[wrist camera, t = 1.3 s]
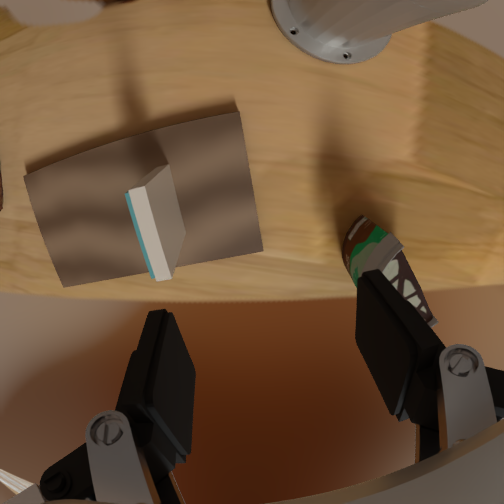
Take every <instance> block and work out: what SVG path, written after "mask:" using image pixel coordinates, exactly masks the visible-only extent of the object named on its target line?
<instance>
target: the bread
mask: <svg viewBox="0 0 504 504" xmlns="http://www.w3.org/2000/svg"><path fill="white" fill-rule="evenodd" d="M2 203H3V190H2V179H1V173H0V211H1V210H2V209H3V207H2Z"/></svg>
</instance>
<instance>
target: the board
mask: <svg viewBox="0 0 504 504" xmlns="http://www.w3.org/2000/svg"><path fill="white" fill-rule="evenodd" d="M167 164H169V166H170V170H171V175H172V179H173V183H174V187H175V191H176V195H177V200H178V204H179V208H180V212H181V216H182V219H183V223H184V227H185V231H186V234H185V237H184V241H183V244H182V247H181V250H180V253H179V257H178V260H177V263H176V267H180V266H185V265H191V264H196V263H202V262H207V261H213V260H218V259H223V258H229V257H234V256H240V255H245V254H251V253H256V252H262V251H263V246H262V240H261V234H260V228H259V222H258V216H257V210H256V204H255V198H254V192H253V186H252V180H251V175H250V169H249V163H248V157H247V152H246V146H245V140H244V134H243V129H242V123H241V118H240V112H233V113H228V114H222V115H217V116H212V117H207V118H202V119H198V120H193V121H188V122H184V123H180V124H176V125H172V126H168V127H164V128H160V129H156V130H152V131H148V132H145V133H141V134H138V135H134V136H131V137H128V138H124V139H121V140H118V141H115V142H111V143H108V144H105V145H102V146H99V147H96V148H93V149H91V150H88V151H85V152H82V153H79V154H77V155H74V156H71V157H69V158H66V159H63V160H61V161H58V162H56V163H53V164H51V165H48V166H46V167H44V168H41V169H39V170H37V171H34V172H32V173H30V174H27V175H25V176H23V177H24V181H25V185H26V188H27V192H28V195H29V198H30V202H31V205H32V208H33V211H34V214H35V217H36V220H37V223H38V226H39V228H40V231H41V234H42V237H43V239H44V242H45V245H46V247H47V250H48V252H49V255H50V257H51V260H52V262H53V264H54V267H55V269H56V272H57V274H58V276H59V278H60V281H61V283H62V285H63V287H70V286H75V285H81V284H86V283H92V282H97V281H103V280H108V279H114V278H119V277H125V276H130V275H136V274H141V273H147V272H149V270H148V267H147V264H146V261H145V259H144V256H143V253H142V250H141V246H140V243H139V240H138V237H137V234H136V231H135V228H134V224H133V221H132V218H131V214H130V211H129V207H128V204H127V201H126V197H125V193H126V192H127V191H128V190H129V189H130V188H132V187H133V186H134V185H135V184H136V183H138V182H139V181H140V180H141V179H142V178H144V177H145V176H146V175H147V174H149V173H150V172H151V171H153V170H154V169H155V168H156V167H159V166H163V165H167Z"/></svg>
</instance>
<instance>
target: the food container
mask: <svg viewBox="0 0 504 504" xmlns="http://www.w3.org/2000/svg"><path fill="white" fill-rule="evenodd" d="M403 248H404V246H403V245H402V244H401V243H400V241H399V240H398V239H397V238H396V237H395V236H394V235H393V234H392V233H391V232H390V233H389V234H388V233H387V232H385V231H384V230H383V229H381V228H380V227H379V226H377V225H376V224H374V223H373V222H372V221H370V220H369V219H368V218H366V217H365V216H363V215H362V216H360V217H359V218H358V219H357V220H356V221H355V222H354V224H353V225H352V226H351V228H350V229H349V231H348V232H347V234H346V237H345V240H344V243H343V252H342V258H343V261H344V265H345V267H346V269H347V271H348V273H349V274H350V276H351V278H352V280H353V282H354V284H355V286H356V288H357V279H358V277H362V273H363V272H366V271H370V270H374V269H379V270H380V271H381V272H382V273H383V274H384V275H385V276H386V278H387V279H388V280H389V281H390V282H391V283H392V285H393V286H394V287H395V288H396V289H397V291H398V292H399V293H400V294H401V295H402V297H403V298H404V299H405V300H408V301H409V302H410V303H411V304H412V305H413V306H414V307H415V309H416V310H417V311H418V312H419V314H420V315H421V316H422V317H423V319H424V320H425V321H426V322H427V324H428V325H429V326H430V327H433V326H434V325H436V324H437V323H438V321H437V319H436V318H435V317H434V316H433V315H432V313H431V311H430V309H429V307H428V304H427V302H426V300H425V297H424V295H423V292H422V290H421V287H420V285H419V283H418V281H417V279H416V277H415V275H414V273H413V271H412V270H411V268H410V266H409V264H408V262H407V260H406V258H405V256H404V254H403V252H402V249H403Z"/></svg>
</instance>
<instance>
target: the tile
mask: <svg viewBox="0 0 504 504" xmlns="http://www.w3.org/2000/svg"><path fill="white" fill-rule="evenodd" d="M125 197H126V201H127V204H128V207H129V211H130V214H131V218H132V221H133V224H134V228H135V231H136V234H137V237H138V240H139V243H140V246H141V250H142V253H143V256H144V259H145V261H146V264H147V267H148V270H149V273H150V276H151V279H152V278H156V281H162V280H168V279H172V277H173V273H174V270H175V267H176V263H177V260H178V257H179V253H180V250H181V247H182V244H183V241H184V237H185V234H186V231H185V227H184V223H183V219H182V216H181V212H180V208H179V204H178V200H177V195H176V191H175V187H174V183H173V179H172V175H171V170H170V166H169V164H167V165H163V166H159V167H156V168H155V169H154V170H153V171H151V172H150V173H149V174H147V175H146V176H145V177H144V178H142V179H141V180H140V181H139V182H138V183H136V184H135V185H134V186H133V187H132V188H130V189H129V190H128V191H127V192H126V193H125Z"/></svg>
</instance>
